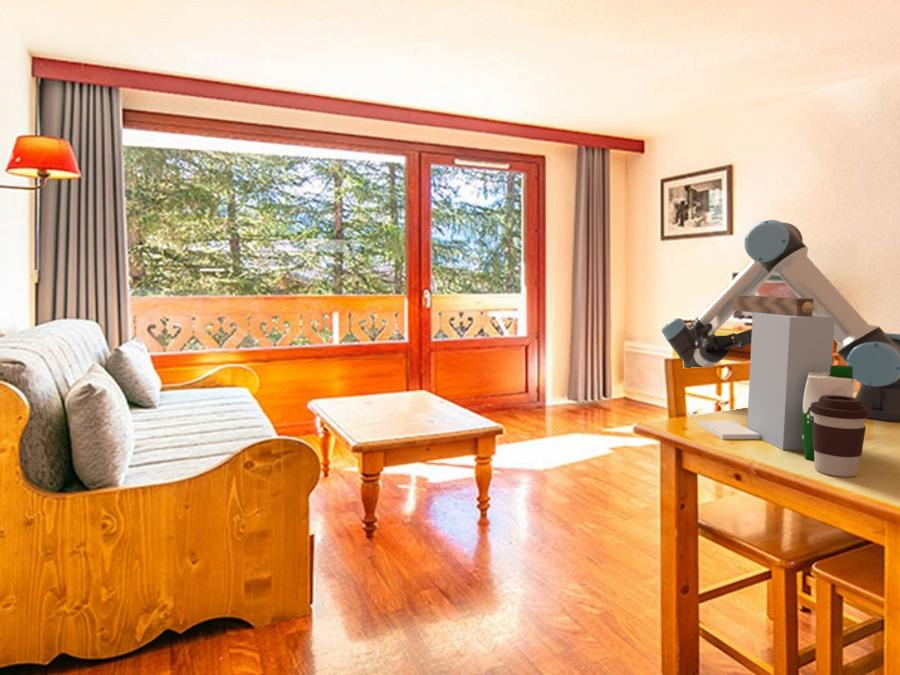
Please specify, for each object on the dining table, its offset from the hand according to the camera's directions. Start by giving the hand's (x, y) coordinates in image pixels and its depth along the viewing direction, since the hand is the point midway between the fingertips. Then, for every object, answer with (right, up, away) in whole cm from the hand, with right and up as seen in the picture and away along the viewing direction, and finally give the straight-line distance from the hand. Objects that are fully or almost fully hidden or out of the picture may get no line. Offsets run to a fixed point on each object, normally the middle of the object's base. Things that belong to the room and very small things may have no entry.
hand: (743, 320), depth 165 cm
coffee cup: (-2, -32, -42) cm, 53 cm away
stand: (+1, -29, -19) cm, 35 cm away
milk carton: (+2, -31, -33) cm, 45 cm away
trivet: (-9, -28, -11) cm, 32 cm away
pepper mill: (-1, +1, -16) cm, 16 cm away
